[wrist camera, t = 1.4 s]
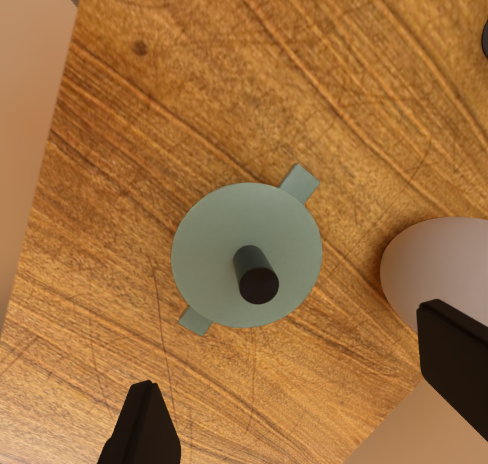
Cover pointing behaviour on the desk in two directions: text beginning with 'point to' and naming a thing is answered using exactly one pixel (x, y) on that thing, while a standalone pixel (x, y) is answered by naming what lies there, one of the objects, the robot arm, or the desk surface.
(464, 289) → the decorative egg
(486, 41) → the sundae
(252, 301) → the lid
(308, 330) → the desk surface
